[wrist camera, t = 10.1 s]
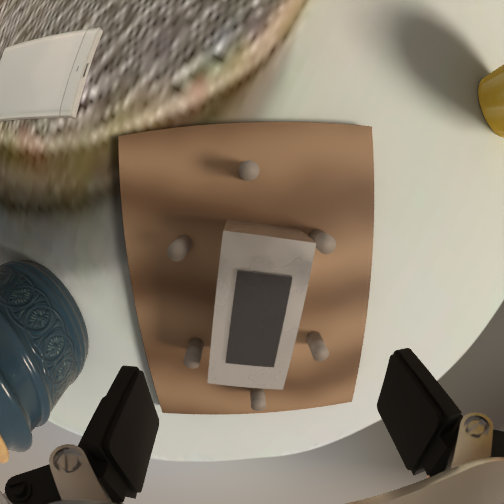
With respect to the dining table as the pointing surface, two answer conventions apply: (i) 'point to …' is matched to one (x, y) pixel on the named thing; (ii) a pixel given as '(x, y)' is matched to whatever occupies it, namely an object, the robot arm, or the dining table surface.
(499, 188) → the dining table surface
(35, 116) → the hard drive
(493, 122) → the plant pot
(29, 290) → the canister
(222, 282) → the block
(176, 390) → the wooden peg board
